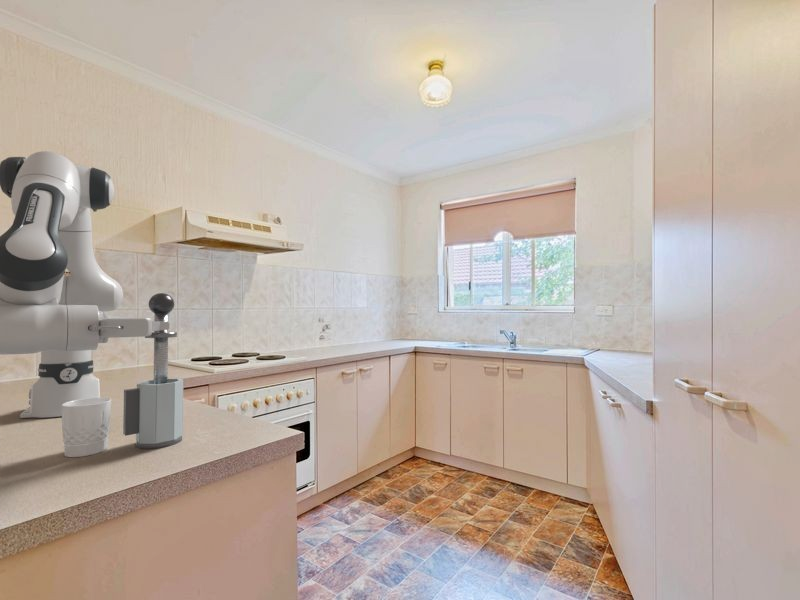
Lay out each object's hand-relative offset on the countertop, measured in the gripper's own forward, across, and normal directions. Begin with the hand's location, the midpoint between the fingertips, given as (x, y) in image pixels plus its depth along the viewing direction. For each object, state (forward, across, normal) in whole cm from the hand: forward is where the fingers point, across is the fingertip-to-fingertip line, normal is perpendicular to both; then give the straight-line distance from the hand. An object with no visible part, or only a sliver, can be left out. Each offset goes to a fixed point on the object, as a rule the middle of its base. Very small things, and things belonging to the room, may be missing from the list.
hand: (165, 325), depth 86 cm
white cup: (-13, +4, +25) cm, 29 cm away
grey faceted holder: (-2, 0, +25) cm, 25 cm away
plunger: (-1, 0, +19) cm, 19 cm away
